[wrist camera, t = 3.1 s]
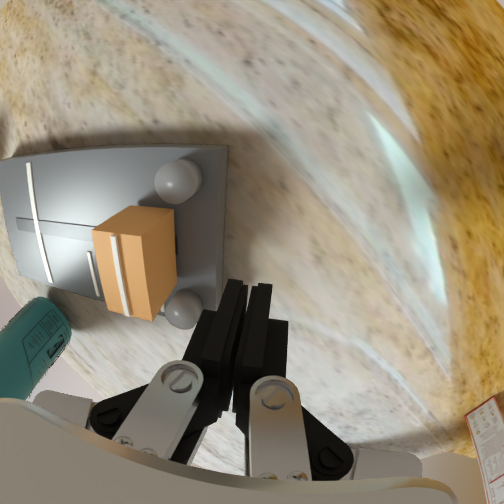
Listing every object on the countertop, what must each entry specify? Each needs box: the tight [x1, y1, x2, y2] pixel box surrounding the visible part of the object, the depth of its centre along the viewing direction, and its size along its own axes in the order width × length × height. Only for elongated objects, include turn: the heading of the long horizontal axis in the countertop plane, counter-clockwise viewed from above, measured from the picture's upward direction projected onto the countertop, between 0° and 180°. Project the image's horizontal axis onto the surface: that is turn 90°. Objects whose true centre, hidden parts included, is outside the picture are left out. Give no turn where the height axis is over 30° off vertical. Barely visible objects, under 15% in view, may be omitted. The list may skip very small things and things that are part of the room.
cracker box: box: [464, 396, 504, 504], centre depth 17 cm, size 14×6×21 cm, turn 45°
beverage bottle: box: [0, 297, 71, 400], centre depth 16 cm, size 6×7×20 cm
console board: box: [0, 144, 228, 330], centre depth 18 cm, size 22×12×4 cm, turn 86°
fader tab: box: [91, 205, 177, 321], centre depth 15 cm, size 3×5×4 cm, turn 176°
